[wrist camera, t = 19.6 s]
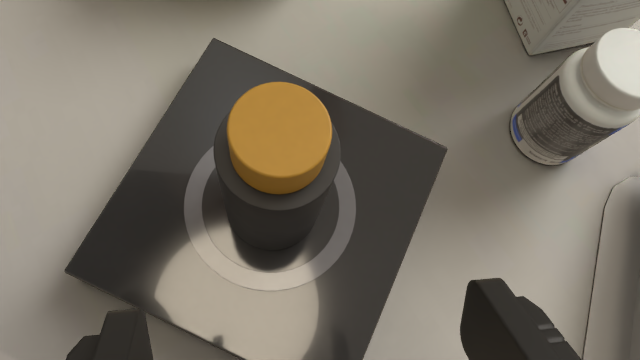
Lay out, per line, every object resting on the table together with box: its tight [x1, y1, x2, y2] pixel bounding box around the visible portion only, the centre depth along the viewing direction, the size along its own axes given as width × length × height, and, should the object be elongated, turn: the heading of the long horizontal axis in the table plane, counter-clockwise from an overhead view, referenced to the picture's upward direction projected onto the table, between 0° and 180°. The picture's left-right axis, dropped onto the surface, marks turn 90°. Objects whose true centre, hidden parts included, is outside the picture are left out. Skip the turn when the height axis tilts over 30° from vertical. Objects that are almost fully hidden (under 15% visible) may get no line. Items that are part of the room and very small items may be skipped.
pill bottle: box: [510, 28, 640, 165], centre depth 29 cm, size 5×5×8 cm
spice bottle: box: [213, 82, 341, 250], centre depth 22 cm, size 5×5×10 cm
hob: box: [65, 38, 447, 360], centre depth 28 cm, size 15×15×2 cm
